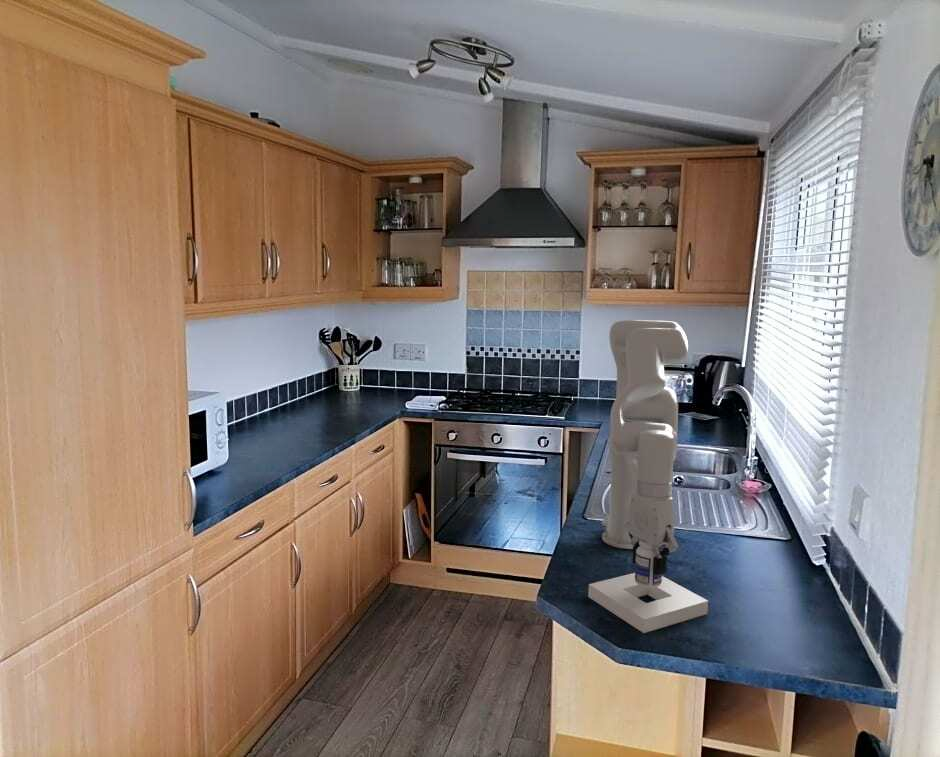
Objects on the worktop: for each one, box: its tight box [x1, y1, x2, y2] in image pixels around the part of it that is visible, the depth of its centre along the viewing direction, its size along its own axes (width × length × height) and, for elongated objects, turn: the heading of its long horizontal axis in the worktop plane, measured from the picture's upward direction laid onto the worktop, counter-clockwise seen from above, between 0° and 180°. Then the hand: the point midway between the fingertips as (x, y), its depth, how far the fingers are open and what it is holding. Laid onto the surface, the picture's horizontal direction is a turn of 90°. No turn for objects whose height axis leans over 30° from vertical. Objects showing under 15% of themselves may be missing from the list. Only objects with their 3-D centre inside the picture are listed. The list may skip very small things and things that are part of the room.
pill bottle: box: [634, 539, 663, 588], centre depth 154 cm, size 6×6×10 cm
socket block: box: [587, 572, 709, 634], centre depth 155 cm, size 18×18×3 cm
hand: (648, 567), depth 154 cm, fingers closed on pill bottle, 5 cm apart
